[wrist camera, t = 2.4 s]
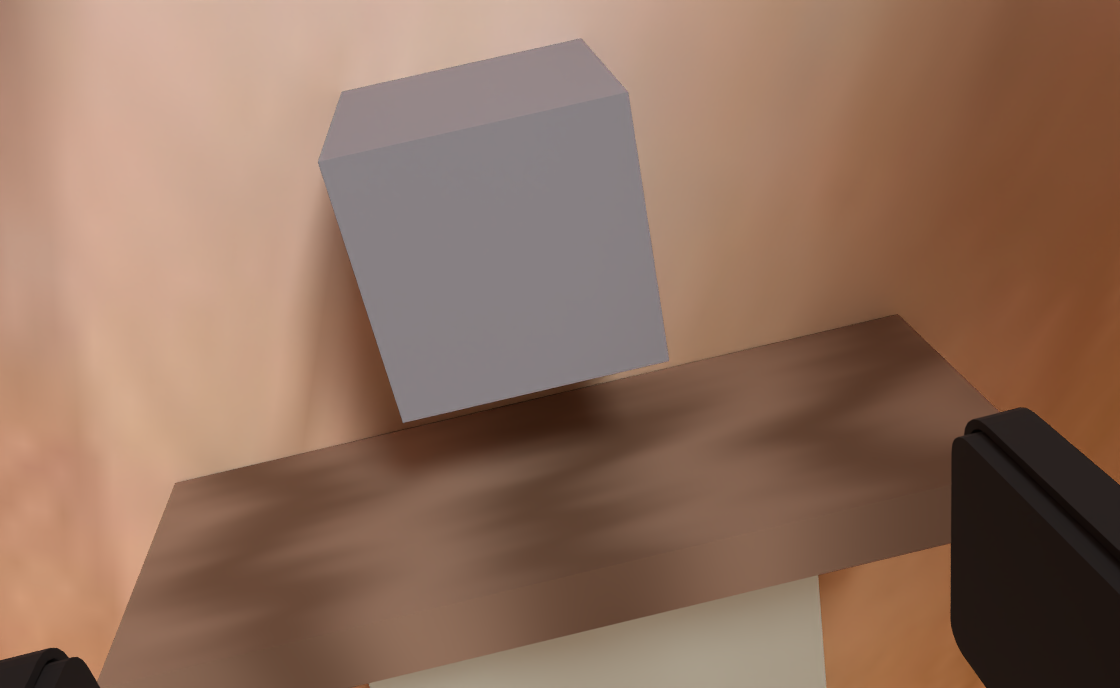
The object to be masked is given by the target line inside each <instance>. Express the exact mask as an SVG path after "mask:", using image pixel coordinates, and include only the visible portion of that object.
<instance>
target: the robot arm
mask: <svg viewBox="0 0 1120 688" xmlns="http://www.w3.org/2000/svg"><path fill="white" fill-rule="evenodd" d="M951 627H952V631H953V635H954V637H955V640H956V643H957V645H958V647H959V649H960V651H961V653H962V654H963V656H964V657H965V659H966V660H967V662H968V663H969V664H970V666H971V667H972V669H973V670H974V671H975V673H976V674H977V675H978V677H979V678H980V680H981V681H982V682H983V684H984V685H985V687H986V688H1120V485H1119V484H1118V483H1117V482H1115V481H1114V480H1113V479H1112V478H1111V477H1110V476H1108V475H1107V474H1106V473H1105V472H1104V471H1103V470H1101V469H1100V468H1099V467H1098V466H1097V465H1095V464H1094V463H1093V462H1092V461H1091V460H1090V459H1088V458H1087V457H1086V456H1085V455H1084V454H1083V453H1081V452H1080V451H1079V450H1078V449H1077V448H1075V447H1074V446H1073V445H1072V444H1071V443H1070V442H1068V441H1067V440H1066V439H1065V438H1064V437H1062V436H1061V435H1060V434H1059V433H1058V432H1057V431H1055V430H1054V429H1053V428H1052V427H1051V426H1050V425H1048V424H1047V423H1046V422H1045V421H1044V420H1042V419H1041V418H1040V417H1039V416H1038V415H1037V414H1035V413H1034V412H1032V411H1031V410H1029V409H1028V408H1021V407H1020V408H1016V409H1012V410H1008V411H1004V412H1000V413H996V414H992V415H988V416H984V417H980V418H976V419H972V420H971V421H969V422H968V423H967V425H966V427H965V431H964V436H960V437H957V438H955V439H954V441H953V443H952V451H951ZM0 688H100V686H99V685H98V683H97V681H96V680H95V678H94V676H93V675H92V673H91V671H90V670H89V668H88V666H87V665H86V664H85V662H84V661H83V660H82V659H80V658H78V657H72V658H68V656H67V655H66V654H65V653H64V652H63V651H61V650H60V649H58V648H48V649H44V650H40V651H36V652H32V653H28V654H24V655H20V656H16V657H12V658H8V659H4V660H0Z"/></svg>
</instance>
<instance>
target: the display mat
mask: <svg viewBox="0 0 1120 688" xmlns="http://www.w3.org/2000/svg"><path fill="white" fill-rule="evenodd" d="M368 684H369V686H370V688H826V675H825V661H824V648H823V634H822V620H821V606H820V593H819V579H818V575H816V576H812V577H808V578H804V579H800V580H796V581H792V582H787V583H783V584H779V585H775V586H771V587H767V588H762V589H758V590H754V591H750V592H746V593H742V594H738V595H733V596H729V597H725V598H721V599H717V600H713V601H708V602H704V603H700V604H696V605H692V606H688V607H684V608H679V609H675V610H671V611H667V612H663V613H659V614H655V615H650V616H646V617H642V618H638V619H634V620H630V621H625V622H621V623H617V624H613V625H609V626H605V627H601V628H596V629H592V630H588V631H584V632H580V633H576V634H571V635H567V636H563V637H559V638H555V639H551V640H547V641H542V642H538V643H534V644H530V645H526V646H522V647H517V648H513V649H509V650H505V651H501V652H497V653H493V654H488V655H484V656H480V657H476V658H472V659H468V660H464V661H459V662H455V663H451V664H447V665H443V666H439V667H434V668H430V669H426V670H422V671H418V672H414V673H410V674H405V675H401V676H397V677H393V678H389V679H385V680H380V681H376V682H372V683H368Z"/></svg>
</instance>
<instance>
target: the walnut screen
mask: <svg viewBox="0 0 1120 688" xmlns="http://www.w3.org/2000/svg"><path fill="white" fill-rule="evenodd" d="M996 413H1000V412H999V411H998V410H997V409H996V408H995V407H994V406H993V405H992V404H991V403H990V402H989V401H988V400H987V399H986V398H985V397H983V396H982V395H981V394H980V393H979V392H978V391H977V390H976V389H975V388H974V387H973V386H972V385H971V384H970V383H969V382H968V381H967V380H966V379H965V378H964V377H963V376H962V375H961V374H959V373H958V372H957V371H956V370H955V369H954V368H953V367H952V366H951V365H950V364H949V363H948V362H947V361H946V360H945V359H944V358H943V357H942V356H941V355H940V354H939V353H938V352H937V351H936V350H934V349H933V348H932V347H931V346H930V345H929V344H928V343H927V342H926V341H925V340H924V339H923V338H922V337H921V336H920V335H919V334H918V333H917V332H916V331H915V330H914V329H913V328H912V327H911V326H909V325H908V324H907V323H906V322H905V321H904V320H903V319H902V318H901V317H900V316H899V315H898V314H897V315H893V316H889V317H885V318H880V319H876V320H872V321H868V322H863V323H859V324H855V325H850V326H846V327H842V328H838V329H833V330H829V331H825V332H820V333H816V334H812V335H808V336H803V337H799V338H795V339H790V340H786V341H782V342H778V343H773V344H769V345H765V346H761V347H756V348H752V349H748V350H743V351H739V352H735V353H731V354H726V355H722V356H718V357H713V358H709V359H705V360H701V361H696V362H692V363H688V364H683V365H679V366H675V367H671V368H666V369H662V370H658V371H654V372H649V373H645V374H641V375H636V376H632V377H628V378H624V379H619V380H615V381H611V382H606V383H602V384H598V385H594V386H589V387H585V388H581V389H576V390H572V391H568V392H564V393H559V394H555V395H551V396H547V397H542V398H538V399H534V400H529V401H525V402H521V403H517V404H512V405H508V406H504V407H499V408H495V409H491V410H487V411H482V412H478V413H474V414H469V415H465V416H461V417H457V418H452V419H448V420H444V421H440V422H435V423H431V424H427V425H422V426H418V427H414V428H410V429H405V430H401V431H397V432H392V433H388V434H384V435H380V436H375V437H371V438H367V439H362V440H358V441H354V442H350V443H345V444H341V445H337V446H333V447H328V448H324V449H320V450H315V451H311V452H307V453H303V454H298V455H294V456H290V457H285V458H281V459H277V460H273V461H268V462H264V463H260V464H255V465H251V466H247V467H243V468H238V469H234V470H230V471H226V472H221V473H217V474H213V475H208V476H204V477H200V478H196V479H191V480H187V481H183V482H178V483H175V485H174V488H173V490H172V493H171V495H170V498H169V500H168V503H167V506H166V508H165V511H164V513H163V516H162V518H161V521H160V523H159V526H158V528H157V531H156V533H155V536H154V539H153V541H152V544H151V546H150V549H149V551H148V554H147V556H146V559H145V561H144V564H143V567H142V569H141V572H140V574H139V577H138V579H137V582H136V584H135V587H134V589H133V592H132V595H131V597H130V600H129V602H128V605H127V607H126V610H125V612H124V615H123V617H122V620H121V623H120V625H119V628H118V630H117V633H116V635H115V638H114V640H113V643H112V645H111V648H110V650H109V653H108V656H107V658H106V661H105V663H104V666H103V668H102V671H101V673H100V676H99V678H98V681H97V683H98V685H99V686H100V688H351V687H356V686H360V685H364V684H368V683H372V682H376V681H380V680H385V679H389V678H393V677H397V676H401V675H405V674H410V673H414V672H418V671H422V670H426V669H430V668H434V667H439V666H443V665H447V664H451V663H455V662H459V661H464V660H468V659H472V658H476V657H480V656H484V655H488V654H493V653H497V652H501V651H505V650H509V649H513V648H517V647H522V646H526V645H530V644H534V643H538V642H542V641H547V640H551V639H555V638H559V637H563V636H567V635H571V634H576V633H580V632H584V631H588V630H592V629H596V628H601V627H605V626H609V625H613V624H617V623H621V622H625V621H630V620H634V619H638V618H642V617H646V616H650V615H655V614H659V613H663V612H667V611H671V610H675V609H679V608H684V607H688V606H692V605H696V604H700V603H704V602H708V601H713V600H717V599H721V598H725V597H729V596H733V595H738V594H742V593H746V592H750V591H754V590H758V589H762V588H767V587H771V586H775V585H779V584H783V583H787V582H792V581H796V580H800V579H804V578H808V577H812V576H816V575H821V574H825V573H829V572H833V571H837V570H841V569H846V568H850V567H854V566H858V565H862V564H866V563H870V562H875V561H879V560H883V559H887V558H891V557H895V556H900V555H904V554H908V553H912V552H916V551H920V550H924V549H929V548H933V547H937V546H941V545H945V544H949V543H951V451H952V443H953V441H954V439H955V438H957V437H960V436H964V431H965V427H966V425H967V423H968V422H969V421H971V420H972V419H976V418H980V417H984V416H988V415H992V414H996Z"/></svg>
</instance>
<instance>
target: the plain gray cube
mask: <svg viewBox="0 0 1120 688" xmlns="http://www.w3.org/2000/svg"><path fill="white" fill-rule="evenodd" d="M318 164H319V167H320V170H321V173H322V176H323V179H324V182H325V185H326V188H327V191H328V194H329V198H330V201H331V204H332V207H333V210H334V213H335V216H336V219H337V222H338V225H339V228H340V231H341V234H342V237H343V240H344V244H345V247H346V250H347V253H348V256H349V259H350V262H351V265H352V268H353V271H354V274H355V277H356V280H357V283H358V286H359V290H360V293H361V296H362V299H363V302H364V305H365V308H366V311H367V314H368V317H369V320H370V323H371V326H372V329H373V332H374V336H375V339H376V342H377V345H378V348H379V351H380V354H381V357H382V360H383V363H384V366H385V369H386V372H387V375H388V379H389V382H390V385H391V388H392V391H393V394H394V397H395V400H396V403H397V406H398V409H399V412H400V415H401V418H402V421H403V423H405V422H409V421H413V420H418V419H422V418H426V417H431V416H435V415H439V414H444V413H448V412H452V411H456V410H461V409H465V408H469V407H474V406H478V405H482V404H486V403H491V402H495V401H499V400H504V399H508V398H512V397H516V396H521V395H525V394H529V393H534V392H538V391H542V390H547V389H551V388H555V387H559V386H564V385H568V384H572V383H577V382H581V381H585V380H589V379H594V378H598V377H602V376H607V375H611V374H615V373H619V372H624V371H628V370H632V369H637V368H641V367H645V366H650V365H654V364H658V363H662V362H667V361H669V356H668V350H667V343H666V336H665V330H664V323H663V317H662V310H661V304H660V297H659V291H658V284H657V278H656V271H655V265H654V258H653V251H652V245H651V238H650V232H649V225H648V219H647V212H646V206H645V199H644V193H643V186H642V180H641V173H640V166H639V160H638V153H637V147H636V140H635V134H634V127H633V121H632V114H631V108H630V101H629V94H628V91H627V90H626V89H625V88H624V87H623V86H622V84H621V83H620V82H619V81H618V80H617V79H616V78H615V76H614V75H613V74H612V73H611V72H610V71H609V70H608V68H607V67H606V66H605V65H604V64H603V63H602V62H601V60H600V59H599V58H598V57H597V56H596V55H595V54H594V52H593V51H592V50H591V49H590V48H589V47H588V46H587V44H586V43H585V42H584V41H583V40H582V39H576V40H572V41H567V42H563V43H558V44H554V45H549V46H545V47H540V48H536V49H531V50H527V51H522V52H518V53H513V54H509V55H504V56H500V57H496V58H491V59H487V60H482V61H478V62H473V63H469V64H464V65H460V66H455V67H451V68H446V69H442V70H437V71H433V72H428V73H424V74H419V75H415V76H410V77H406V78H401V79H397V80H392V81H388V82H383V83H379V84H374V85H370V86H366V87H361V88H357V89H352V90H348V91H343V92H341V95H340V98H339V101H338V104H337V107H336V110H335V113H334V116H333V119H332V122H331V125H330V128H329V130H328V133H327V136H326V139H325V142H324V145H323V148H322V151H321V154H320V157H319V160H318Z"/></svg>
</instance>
